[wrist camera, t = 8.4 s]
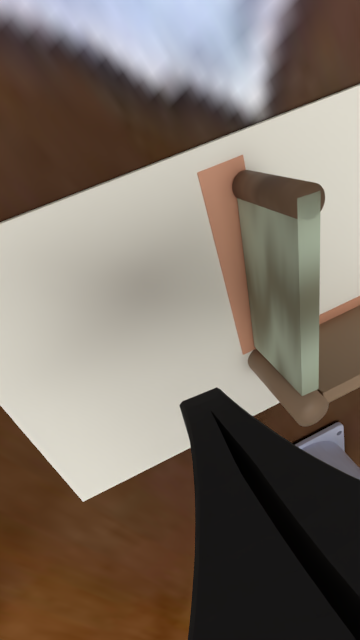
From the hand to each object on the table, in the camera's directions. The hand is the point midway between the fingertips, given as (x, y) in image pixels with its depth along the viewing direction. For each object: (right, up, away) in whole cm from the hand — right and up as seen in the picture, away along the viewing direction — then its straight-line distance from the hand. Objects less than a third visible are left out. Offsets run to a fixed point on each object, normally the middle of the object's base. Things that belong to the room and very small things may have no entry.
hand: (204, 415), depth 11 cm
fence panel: (+3, +6, +8) cm, 11 cm away
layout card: (+3, +4, +10) cm, 11 cm away
